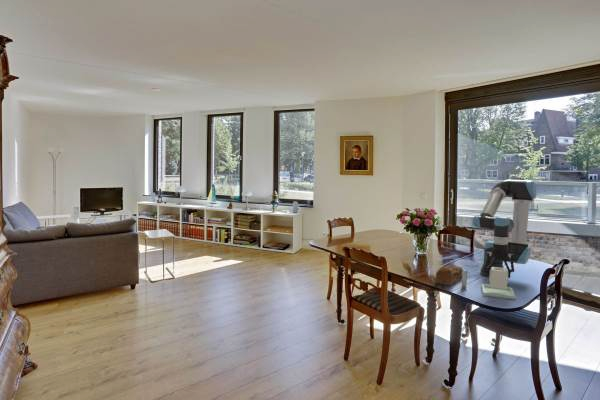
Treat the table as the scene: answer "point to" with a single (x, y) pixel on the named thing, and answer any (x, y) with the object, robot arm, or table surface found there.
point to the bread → (449, 275)
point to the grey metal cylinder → (464, 280)
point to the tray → (498, 292)
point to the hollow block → (498, 277)
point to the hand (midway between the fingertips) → (498, 282)
